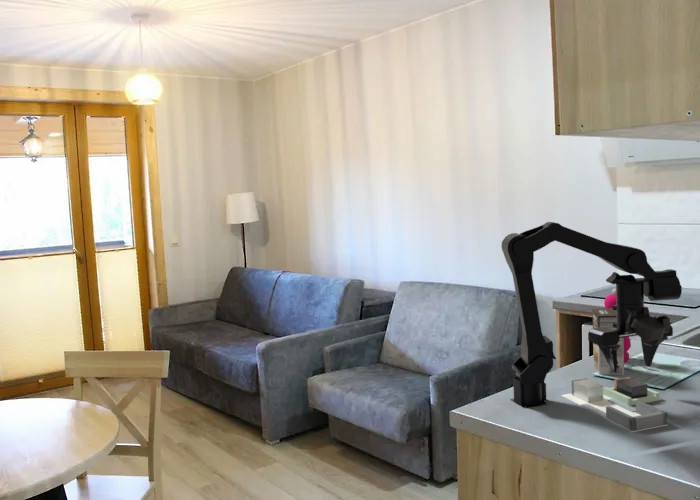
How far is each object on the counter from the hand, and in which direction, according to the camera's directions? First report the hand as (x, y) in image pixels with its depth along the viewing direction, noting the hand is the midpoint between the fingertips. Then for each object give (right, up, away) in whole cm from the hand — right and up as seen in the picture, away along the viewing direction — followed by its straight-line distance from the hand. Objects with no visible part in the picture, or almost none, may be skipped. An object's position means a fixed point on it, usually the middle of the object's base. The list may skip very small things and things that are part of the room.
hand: (631, 369), depth 144 cm
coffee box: (+4, -5, +21) cm, 22 cm away
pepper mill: (+10, -3, +31) cm, 33 cm away
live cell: (0, -6, +1) cm, 6 cm away
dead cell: (-9, -7, +2) cm, 12 cm away
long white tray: (-7, -8, -6) cm, 12 cm away
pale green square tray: (0, -7, +1) cm, 7 cm away
